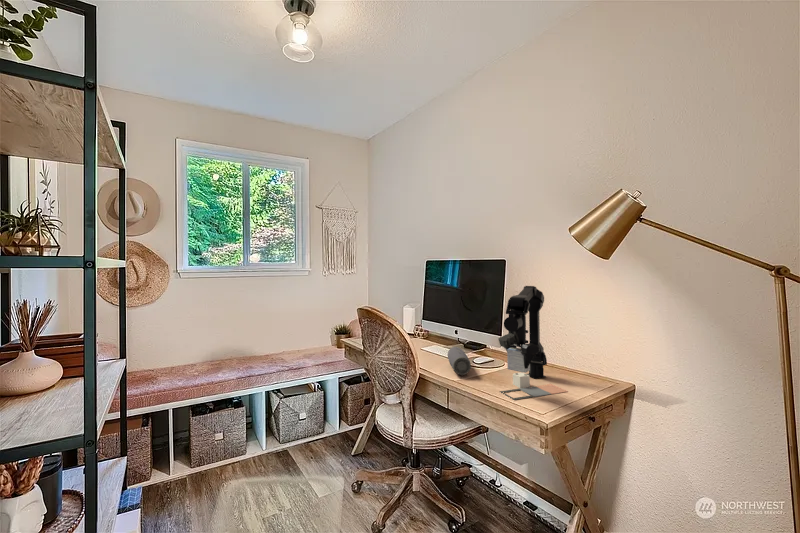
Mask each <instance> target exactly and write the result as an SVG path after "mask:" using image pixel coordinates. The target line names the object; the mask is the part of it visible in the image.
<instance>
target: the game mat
mask: <svg viewBox="0 0 800 533" xmlns="http://www.w3.org/2000/svg"><path fill="white" fill-rule="evenodd" d="M511 391H514V392H521V391H522V392H523V393H525V394H527V395H523V396H517V397H512V396H510V395H509V394H507V393H512V392H511ZM500 392H501V393H500ZM503 392H507V393H503ZM568 392H569V391H568V390H566V389H564V388H562V387H559V386H556V385H554V384H551V383H549V384H541V385H535V386H530V387H525V388H519V387H518V388H513V389H506V390H499V393H500V394H502V393H503V394H502V395H504V394H505V395H504V396H506V397H508V398H509V397H510V398H509V399H511V398H512V399H511V400H514V401H518V400H525V399H531V398H537V397H545V396H550V395H556V394H563V393H564V394H565V393H568Z"/></svg>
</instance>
